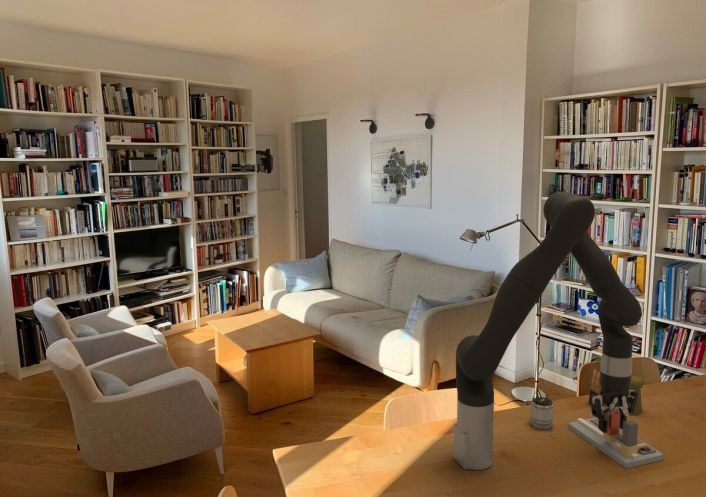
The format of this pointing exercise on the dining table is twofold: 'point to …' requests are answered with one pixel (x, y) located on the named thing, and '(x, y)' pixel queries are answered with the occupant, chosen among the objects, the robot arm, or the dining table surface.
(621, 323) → the robot arm
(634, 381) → the olive pepper mill
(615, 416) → the red slider with pointer
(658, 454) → the grey slider track base
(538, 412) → the camera lens
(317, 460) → the dining table surface
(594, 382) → the ammunition clip
